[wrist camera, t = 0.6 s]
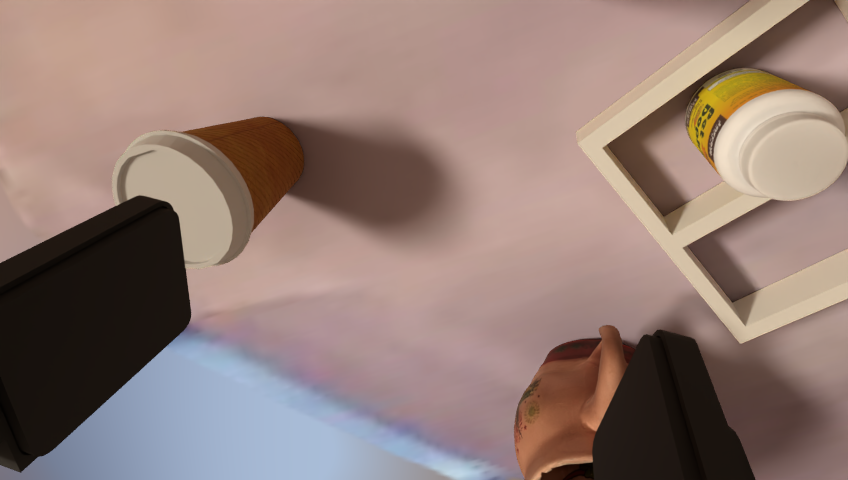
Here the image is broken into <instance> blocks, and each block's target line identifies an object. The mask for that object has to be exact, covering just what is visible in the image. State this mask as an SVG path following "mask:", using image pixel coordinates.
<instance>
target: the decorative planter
mask: <svg viewBox="0 0 848 480" xmlns="http://www.w3.org/2000/svg"><path fill="white" fill-rule="evenodd" d="M599 332H600V335H601V338H602V340H600V339H587V340H576V341H571V342H567V343H564V344H561V345H559V346H557V347H555V348H554V349H553V350H551V351H550V352H549V354H548V355H547V357H546V359H545V361H544V363H543V364H542V365H541V367H540V369H539V370H538V372H537V373H536V375H535V376H534V378H533V380H532V382H531V384H530V385H529V387H528V388H527V389H526V391H525V392H524V394H523V396H522V398H521V400H520V402H519V404H518V408H517V412H516V418H515V425H514V438H515V450H516V455H517V460H518V463H519V466H520V469H521V471H522V473H523V475H524V478H525V480H594V472H593V457H592V447H593V440H594V437H595V434H596V431H597V429H598V427H599V425H600V423H601V421H602V419H603V417H604V414H605V412H606V410H607V408H608V406H609V404H610V402H611V400H612V398H613V396H614V394H615V391H616V389H617V387H618V385H619V383H620V381H621V379H622V377H623V375H624V373H625V371H626V368H627V366H628V364H629V362H630V360H631V358H632V356H633V354H634V352H635V349H633V348H631V347H629V346H626V345H623V344H622V340H621V337H620V334H619V331H618V330H617V328H615V327H614V326H611V325H606V326H602V327H601V328H599Z"/></svg>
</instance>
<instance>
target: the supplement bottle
mask: <svg viewBox="0 0 848 480" xmlns="http://www.w3.org/2000/svg"><path fill="white" fill-rule="evenodd" d="M685 125H686V130H687V133H688V135H689V138H690V139H691V141H692V142H693V143H694V145H695V146H696V147H697V148H698V150H699V151H700V152H701V153H702V155H703V156H704V157H705V158H706V159H707V161H708V162H709V163H710V164H711V165H712V167H713V168H714V169H715V170H716V172H717V173H718V174H719V175H720V177H721V178H722V179H723V180H724V181H725V182H726V183H727V184H728V185H729V186H731V187H732V188H733V189H735V190H737V191H739V192H741V193H743V194H746V195H749V196H753V197H760V198H772V199H775V200H781V201H794V200H801V199H805V198H808V197H811V196H813V195H816V194H818V193H820V192H821V191H823V190H825V189H826V188H828V187H829V186H830V185H831V184H833V183H834V182H835V181H836V180H837V179H838V177H839V176H840V175H841V173H842V172H843V170H844V168H845V167H846V164H847V161H848V141H847V138H846V136H845V125H844V122H843V118H842V117H841V114H840V112H839V111H838V110H837V108H836V107H835V106H834V105H833V104H832V103H831V102H829V101H828V100H827V99H825V98H823V97H822V96H820V95H818V94H816V93H813V92H811V91H809V90H806V89H804V88H802V87H799V86H797V85H795V84H792V83H790V82H788V81H786V80H783V79H781V78H779V77H776V76H774V75H772V74H770V73H767V72H765V71H762V70H758V69H753V68H738V69H732V70H728V71H725V72H723V73H720V74H718V75H716V76H714V77H713V78H711V79H709V80H708V81H707V82H705V83H704V84H703V85H702V86H701V87H700V88H699V89H698V90H697V91H696V93H695V94H694V95H693V97H692V99H691V100H690V102H689V105H688V107H687V111H686V116H685Z"/></svg>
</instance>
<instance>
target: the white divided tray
mask: <svg viewBox="0 0 848 480" xmlns="http://www.w3.org/2000/svg"><path fill="white" fill-rule="evenodd" d="M808 1H809V0H750V1H749V2H748V3H746V4H745V5H744V6H742V7H741V8H740V9H738V10H737V11H736V12H734V13H733V14H732V15H730V16H729V17H728V18H726V19H725V20H724V21H722V22H721V23H720V24H718V25H717V26H716V27H714V28H713V29H712V30H710V31H709V32H708V33H706V34H705V35H704V36H702V37H701V38H700V39H699V40H697V41H696V42H695V43H693V44H692V45H691V46H689V47H688V48H687V49H685V50H684V51H683V52H681V53H680V54H679V55H677V56H676V57H675V58H673V59H672V60H671V61H669V62H668V63H667V64H665V65H664V66H663V67H661V68H660V69H659V70H657V71H656V72H655V73H653V74H652V75H651V76H649V77H648V78H647V79H645V80H644V81H643V82H641V83H640V84H639V85H637V86H636V87H635V88H633V89H632V90H631V91H629V92H628V93H627V94H625V95H624V96H623V97H621V98H620V99H619V100H617V101H616V102H615V103H614V104H612V105H611V106H610V107H608V108H607V109H606V110H604V111H603V112H602V113H600V114H599V115H598V116H596V117H595V118H594V119H592V120H591V121H590V122H588V123H587V124H586V125H584V126H583V127H582V128H580V129H579V130H578V131H576V136H577V144H578V145H579V146H580V148H581V149H582V150H583V151H584V152H585V154H586V155H587V156H588V157H589V159H590V160H591V161H592V162H593V164H594V165H595V166H596V167H597V168H598V170H599V171H600V172H601V173H602V175H603V176H604V177H605V178H606V180H607V181H608V182H609V183H610V184H611V186H612V187H613V188H614V189H615V191H616V192H617V193H618V194H619V195H620V197H621V198H622V199H623V200H624V202H625V203H626V204H627V205H628V207H629V208H630V209H631V210H632V211H633V213H634V214H635V215H636V216H637V218H638V219H639V220H640V221H641V223H642V224H643V225H644V226H645V227H646V229H647V230H648V231H649V232H650V234H651V235H652V236H653V237H654V238H655V240H656V241H657V242H658V243H659V245H660V246H661V247H662V248H663V250H664V251H665V252H666V253H667V254H668V256H669V257H670V258H671V259H672V261H673V262H674V263H675V264H676V266H677V267H678V268H679V269H680V270H681V272H682V273H683V274H684V275H685V277H686V278H687V279H688V280H689V281H690V283H691V284H692V285H693V286H694V288H695V289H696V290H697V291H698V293H699V294H700V295H701V296H702V297H703V299H704V300H705V301H706V302H707V304H708V305H709V306H710V307H711V309H712V310H713V311H714V312H715V313H716V315H717V316H718V317H719V318H720V320H721V321H722V322H723V323H724V324H725V326H726V327H727V328H728V329H729V331H730V332H731V333H732V334H733V336H734V337H735V338H736V339H737V340H738V342H739V343H740V344H742V343H744V342H746V341H749V340H751V339H753V338H756V337H758V336H760V335H763V334H765V333H768V332H770V331H772V330H775V329H777V328H779V327H782V326H784V325H786V324H789V323H791V322H794V321H796V320H798V319H801V318H803V317H805V316H808V315H810V314H812V313H815V312H817V311H820V310H822V309H824V308H827V307H829V306H831V305H834V304H836V303H838V302H841V301H843V300H846V299H848V249H846V250H844V251H842V252H839V253H837V254H835V255H833V256H831V257H829V258H827V259H824V260H822V261H820V262H818V263H816V264H814V265H812V266H810V267H807V268H805V269H803V270H801V271H799V272H797V273H795V274H792V275H790V276H788V277H786V278H784V279H782V280H780V281H777V282H775V283H773V284H771V285H769V286H767V287H765V288H762V289H760V290H758V291H756V292H754V293H752V294H750V295H748V296H745V297H743V298H741V299H739V300H737V301H735V302H733V303H732V302H731V300H730V299H729V298H728V297H727V295H726V294H725V293H724V292H723V290H722V289H721V288H720V287H719V285H718V284H717V283H716V282H715V280H714V279H713V278H712V277H711V275H710V274H709V273H708V272H707V270H706V269H705V268H704V267H703V265H702V264H701V263H700V262H699V260H698V259H697V258H696V257H695V255H694V254H693V253H692V252H691V250H690V249H689V248H688V247H687V245H688V244H690V243H692V242H694V241H696V240H697V239H699V238H701V237H703V236H705V235H707V234H708V233H710V232H712V231H714V230H716V229H718V228H719V227H721V226H723V225H725V224H727V223H728V222H730V221H732V220H734V219H736V218H738V217H739V216H741V215H743V214H745V213H747V212H749V211H750V210H752V209H754V208H756V207H758V206H759V205H761V204H763V203H765V202H767V201H769V200H770V199H772V198H760V197H753V196H749V195H746V194H743V193H741V192H739V191H737V190H735V189H733V188H732V187H731V186H729V185H728V184H727V183H726V182H725V181H723V182H722V183H720V184H718V185H717V186H715V187H713V188H712V189H710V190H708V191H707V192H705V193H703V194H702V195H700V196H698V197H696V198H695V199H693V200H691V201H690V202H688V203H686V204H685V205H683V206H681V207H680V208H678V209H676V210H675V211H673V212H671V213H669V214H668V215H666V216H664V217H663V215H662V214H661V213H660V212H659V210H658V209H657V208H656V207H655V205H654V204H653V203H652V202H651V200H650V199H649V198H648V197H647V195H646V194H645V193H644V192H643V190H642V189H641V188H640V187H639V185H638V184H637V183H636V182H635V180H634V179H633V178H632V177H631V175H630V174H629V173H628V172H627V170H626V169H625V168H624V166H623V165H622V164H621V163H620V161H619V160H618V159H617V158H616V156H615V155H614V154H613V153H612V151H611V150H610V149H609V148H608V146H607V144H608V143H610V142H611V141H613V140H614V139H615V138H617V137H618V136H620V135H621V134H622V133H624V132H625V131H627V130H628V129H629V128H631V127H632V126H634V125H635V124H636V123H638V122H639V121H641V120H642V119H643V118H645V117H646V116H648V115H649V114H650V113H652V112H653V111H655V110H656V109H657V108H659V107H660V106H662V105H663V104H664V103H666V102H667V101H669V100H670V99H671V98H673V97H674V96H676V95H677V94H679V93H680V92H681V91H683V90H684V89H686V88H687V87H688V86H690V85H691V84H693V83H694V82H695V81H697V80H698V79H700V78H701V77H702V76H704V75H705V74H707V73H708V72H709V71H711V70H712V69H714V68H715V67H716V66H718V65H719V64H721V63H722V62H723V61H725V60H726V59H728V58H729V57H730V56H732V55H733V54H735V53H736V52H737V51H739V50H740V49H742V48H743V47H745V46H746V45H747V44H749V43H750V42H752V41H753V40H754V39H756V38H757V37H759V36H760V35H761V34H763V33H764V32H766V31H767V30H768V29H770V28H771V27H773V26H774V25H775V24H777V23H778V22H780V21H781V20H782V19H784V18H785V17H787V16H788V15H789V14H791V13H792V12H794V11H795V10H796V9H798V8H799V7H801V6H802V5H803V4H805V3H806V2H808ZM834 1H835V3H836V5H837V6H838V8H839V9H840V11H841V12H842V14H843V16H844V17H845V19H846V20H847V22H848V0H834ZM840 114H841V117H842V118H843V122H844V125H845V136H846V138H847V141H848V108H847V109H845V110H843V111H842V112H840Z"/></svg>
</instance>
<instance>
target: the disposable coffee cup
mask: <svg viewBox="0 0 848 480" xmlns="http://www.w3.org/2000/svg"><path fill="white" fill-rule="evenodd" d="M303 167H304V156H303V152H302V148H301V146H300V143H299V141H298V139H297V138H296V137H295V135H294V134H293V133H292V131H291V130H290V129H289V128H288V127H286V126H285V125H284V124H282V123H281V122H279V121H277V120H275V119H272V118H268V117H256V118H251V119H246V120H241V121H236V122H231V123H225V124H220V125H215V126H210V127H205V128H200V129H194V130H189V131H184V132H177V131H169V130H160V131H152V132H149V133H146V134H143V135H141V136H140V137H138V138H137V139H135V140H134V141H133V142H132V143H131V144H130V145H129V147H128V148H127V150H126V152H125V153H124V154H122V156H121V157H120V158H119V160H118V161H117V162H116V165H115V168H114V172H113V176H112V192H113V198H114V202H115V204H116V206H117V205H119V204H121V203H123V202H125V201H127V200H129V199H131V198H133V197H135V196H139V195H141V196H147V197H151V198H155V199H158V200H162V201H166V202H168V203H170V204H171V205H172V207H173V209H174V211H175V212H176V213H177V214H178V216H179V221H180V229H181V237H182V245H183V253H184V260H185V268H189V269H202V268H206V267H210V266H218V265H221V264H225V263H228V262H230V261H231V260H233V259H234V258H236V257H237V256H238V255H239V254H240V253H241V252H242V251H243V250H244V248H245V246H246V245H247V243H248V241H249V238H250V235H251V233H252V231H253V230H254V229H255V228H256V227H257V226H258V225H259V224H260V222H261V221H262V220H263V219H264V218H265V217H266V216H267V214H268V213H269V212H270V211H271V210H272V209H273V208H274V207H275V205H276V204H277V203H278V202H279V201H280V200H281V198H282V197H283V196H284V195H285V194H286V193H287V192H288V190H289V189H290V188H291V187H292V186H293V185H294V184H295V183H296V182H297V181H298V179H299V178H300V176H301V174H302V171H303Z"/></svg>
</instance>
